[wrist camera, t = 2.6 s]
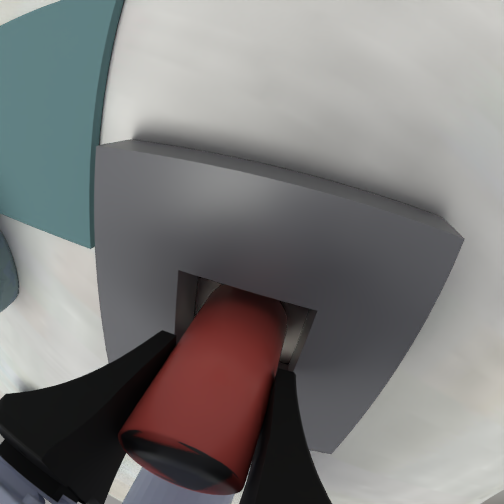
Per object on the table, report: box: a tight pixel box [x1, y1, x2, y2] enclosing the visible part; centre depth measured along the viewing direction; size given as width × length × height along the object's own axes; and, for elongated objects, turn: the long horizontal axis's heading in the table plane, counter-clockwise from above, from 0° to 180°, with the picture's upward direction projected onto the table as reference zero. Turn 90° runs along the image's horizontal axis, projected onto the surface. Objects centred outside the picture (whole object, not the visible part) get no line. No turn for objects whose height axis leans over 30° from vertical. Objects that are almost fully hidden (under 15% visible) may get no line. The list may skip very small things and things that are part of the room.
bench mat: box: [0, 0, 124, 249], centre depth 13 cm, size 14×14×1 cm
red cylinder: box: [118, 285, 287, 495], centre depth 11 cm, size 4×4×8 cm
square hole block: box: [94, 140, 464, 454], centre depth 14 cm, size 14×14×3 cm
